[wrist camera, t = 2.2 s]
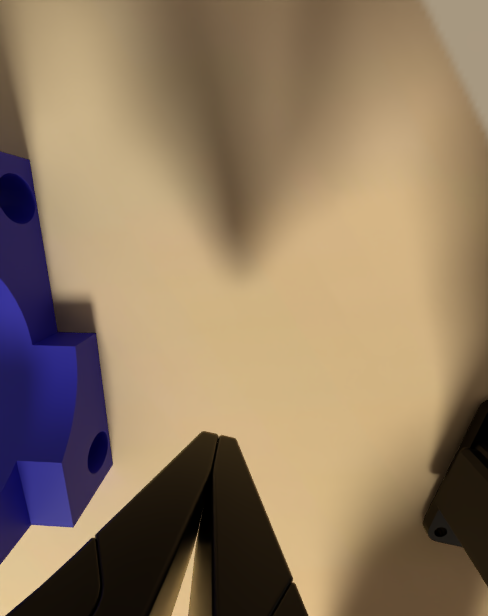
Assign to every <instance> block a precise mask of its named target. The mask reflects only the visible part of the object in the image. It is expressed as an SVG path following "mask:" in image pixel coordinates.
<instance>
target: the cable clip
mask: <svg viewBox="0 0 488 616" xmlns="http://www.w3.org/2000/svg"><path fill="white" fill-rule="evenodd" d="M112 465H113V462H112V455H111V447H110V439H109V431H108V423H107V416H106V408H105V400H104V392H103V384H102V377H101V369H100V361H99V353H98V345H97V338H96V333H72V332H58V331H57V325H56V319H55V313H54V307H53V301H52V295H51V288H50V282H49V276H48V270H47V264H46V258H45V252H44V246H43V240H42V233H41V227H40V221H39V215H38V209H37V203H36V197H35V191H34V185H33V178H32V172H31V166H30V160H28V159H25V158H21V157H18V156H14V155H11V154H7V153H4V152H0V564H1V563H2V562H3V560H4V559H5V558H6V557H7V555H8V554H9V553H10V551H11V550H12V549H13V548H14V546H15V545H16V544H17V542H18V541H19V540H20V538H21V537H22V536H23V535H24V533H25V532H26V531H27V529H28V528H29V527H30V526H31V525H44V526H60V527H74V526H75V524H76V522H77V521H78V519H79V518H80V516H81V514H82V513H83V511H84V510H85V508H86V506H87V505H88V503H89V502H90V500H91V498H92V497H93V495H94V494H95V492H96V490H97V489H98V487H99V486H100V484H101V482H102V481H103V479H104V478H105V476H106V474H107V473H108V471H109V470H110V468H111V466H112Z"/></svg>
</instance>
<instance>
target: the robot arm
mask: <svg viewBox="0 0 488 616" xmlns="http://www.w3.org/2000/svg"><path fill="white" fill-rule="evenodd" d="M217 442H218V443H217ZM202 511H203V512H202ZM200 520H201V521H200ZM199 524H200V525H199ZM423 526H424V529H425V530H426V532H427V534H428V536H429V537H430V538H431V539H432V540H434V541H437V542H442V543H446V544H451V545H455V546H460V547H463V548H464V550H465V551H466V553H467V554H468V556H469V558H470V559H471V561H472V562H473V564H474V566H475V567H476V569H477V570H478V572H479V574H480V575H481V577H482V578H483V580H484V582H485V583H486V585H487V586H488V400H486V401H485V402H483V403H482V404H481V405H480V407H479V408H478V410H477V412H476V414H475V416H474V418H473V420H472V422H471V424H470V426H469V429H468V431H467V433H466V435H465V437H464V439H463V441H462V443H461V445H460V447H459V449H458V451H457V453H456V455H455V457H454V459H453V461H452V463H451V465H450V467H449V469H448V471H447V473H446V475H445V477H444V479H443V481H442V483H441V486H440V488H439V490H438V492H437V494H436V496H435V498H434V500H433V502H432V504H431V506H430V508H429V510H428V512H427V514H426V516H425V518H424V520H423ZM198 529H199V530H198ZM197 533H198V536H197ZM196 537H197V542H196V549H195V558H194V567H193V576H192V585H191V595H190V604H189V613H188V616H308V614H307V611H306V609H305V606H304V604H303V601H302V599H301V597H300V594H299V592H298V589H297V587H296V584H295V583H292V581H293V577H292V575H291V572H290V570H289V567H288V565H287V563H286V560H285V558H284V555H283V553H282V550H281V548H280V545H279V543H278V540H277V538H276V536H275V533H274V531H273V528H272V526H271V523H270V521H269V518H268V516H267V514H266V511H265V509H264V506H263V504H262V501H261V499H260V496H259V494H258V491H257V489H256V487H255V484H254V482H253V479H252V477H251V474H250V472H249V469H248V467H247V464H246V462H245V460H244V457H243V455H242V452H241V450H240V447H239V445H238V442H237V440H236V439H235V438H233V437H228V436H224V435H221V436H219V438H218V435H217V434H215V433H210V432H206V431H203V432H201V433H200V434H199V435H198V436H197V437H196V438H195V439H194V440H193V441H192V442H191V443H190V444H189V445H188V446H187V447H186V448H184V449H183V450H182V451H181V452H180V453H179V454H178V455H177V456H176V457H175V458H174V459H173V460H172V461H171V462H170V463H169V464H168V465H167V466H166V467H165V468H164V469H163V470H162V471H161V472H160V473H159V474H158V475H157V476H156V477H154V478H153V479H152V480H151V481H150V482H149V483H148V484H147V485H146V486H145V487H144V488H143V489H142V490H141V491H140V492H139V493H138V494H137V495H136V496H135V497H134V498H133V499H132V500H131V501H130V502H129V503H128V504H127V505H126V506H125V507H123V508H122V509H121V510H120V511H119V512H118V513H117V514H116V515H115V516H114V517H113V518H112V519H111V520H110V521H109V522H108V523H107V524H106V525H105V526H104V527H103V528H102V529H101V530H100V531H99V532H98V533H97V534H96V535H95V538H91V539H90V540H89V541H88V542H87V543H86V544H85V545H84V546H83V547H82V548H81V549H80V550H79V551H78V552H77V553H76V554H75V555H74V556H73V557H72V558H70V559H69V560H68V561H67V562H66V563H65V564H64V565H63V566H62V567H61V568H60V569H59V570H57V571H56V572H55V573H54V574H53V575H52V576H51V577H50V578H49V579H48V580H47V581H45V582H44V583H43V584H42V585H41V586H40V587H39V588H38V589H36V590H35V591H34V592H33V593H32V594H30V595H29V596H28V597H27V598H26V599H25V600H23V601H22V602H21V603H20V604H19V605H17V606H16V607H15V608H14V609H13V610H12V611H10V612H9V613H8V614H7V615H6V616H171V615H172V612H173V609H174V606H175V603H176V600H177V597H178V594H179V591H180V588H181V584H182V581H183V578H184V575H185V572H186V569H187V566H188V563H189V560H190V557H191V554H192V551H193V548H194V544H195V541H196Z"/></svg>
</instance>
